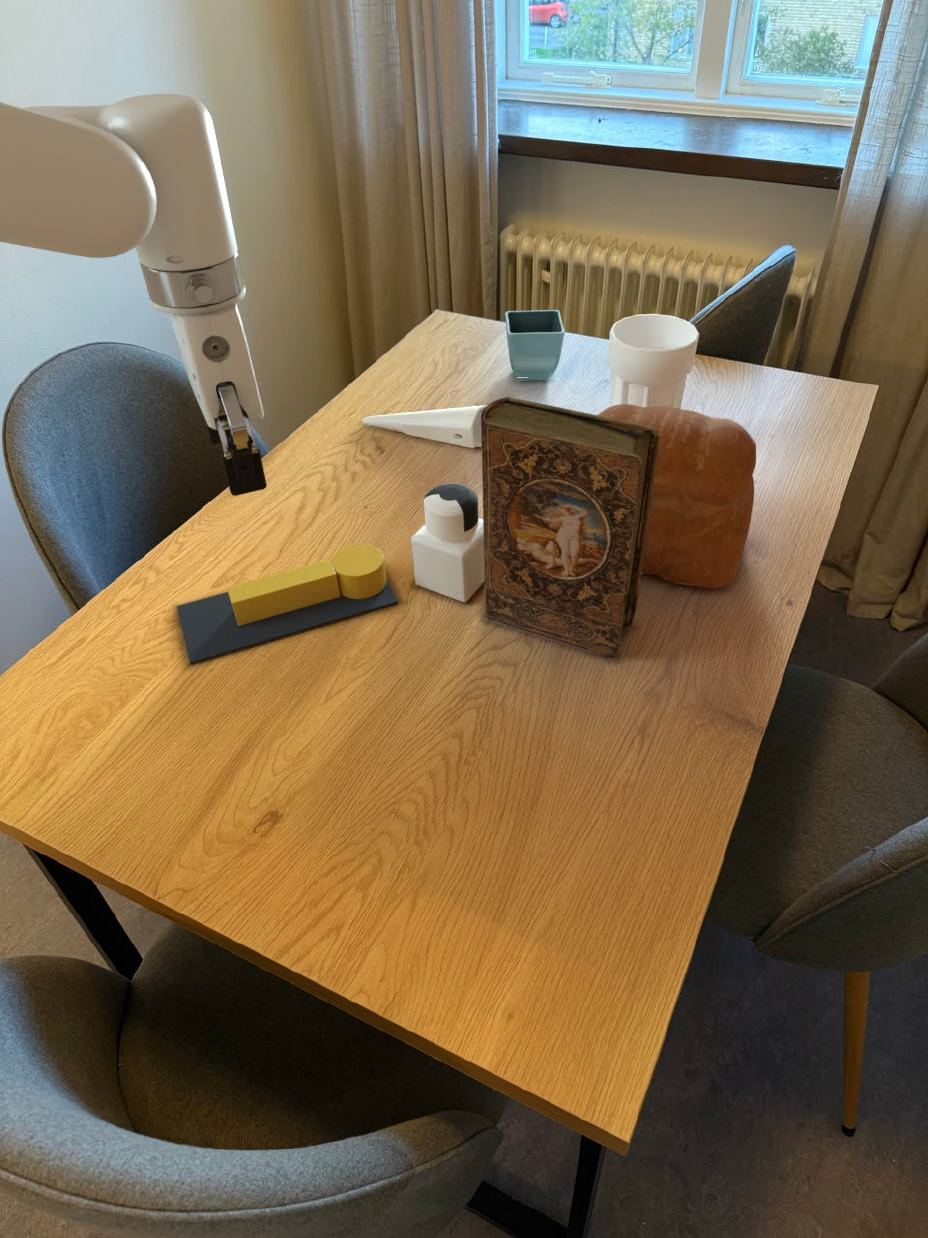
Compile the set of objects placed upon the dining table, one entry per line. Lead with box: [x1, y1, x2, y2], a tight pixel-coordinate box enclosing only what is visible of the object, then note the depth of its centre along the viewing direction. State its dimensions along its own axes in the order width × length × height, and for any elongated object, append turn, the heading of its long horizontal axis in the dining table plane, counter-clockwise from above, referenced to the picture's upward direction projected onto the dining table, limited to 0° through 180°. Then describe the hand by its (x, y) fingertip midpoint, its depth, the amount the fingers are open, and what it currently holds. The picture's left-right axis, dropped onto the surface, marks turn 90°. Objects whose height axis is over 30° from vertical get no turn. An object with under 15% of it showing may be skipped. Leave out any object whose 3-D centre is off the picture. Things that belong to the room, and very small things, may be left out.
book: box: [481, 396, 659, 658], centre depth 85 cm, size 16×6×25 cm, turn 64°
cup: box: [607, 313, 700, 409], centre depth 113 cm, size 11×11×17 cm
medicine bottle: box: [410, 482, 485, 603], centre depth 96 cm, size 7×7×12 cm
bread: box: [597, 404, 757, 589], centre depth 97 cm, size 18×21×17 cm
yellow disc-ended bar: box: [226, 543, 387, 626], centre depth 96 cm, size 18×6×4 cm, turn 112°
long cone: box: [361, 404, 488, 449], centre depth 124 cm, size 6×6×19 cm
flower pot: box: [504, 309, 565, 382], centre depth 134 cm, size 9×9×9 cm
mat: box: [176, 562, 399, 665], centre depth 97 cm, size 24×10×1 cm, turn 112°
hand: (238, 464), depth 78 cm, fingers open, 9 cm apart
